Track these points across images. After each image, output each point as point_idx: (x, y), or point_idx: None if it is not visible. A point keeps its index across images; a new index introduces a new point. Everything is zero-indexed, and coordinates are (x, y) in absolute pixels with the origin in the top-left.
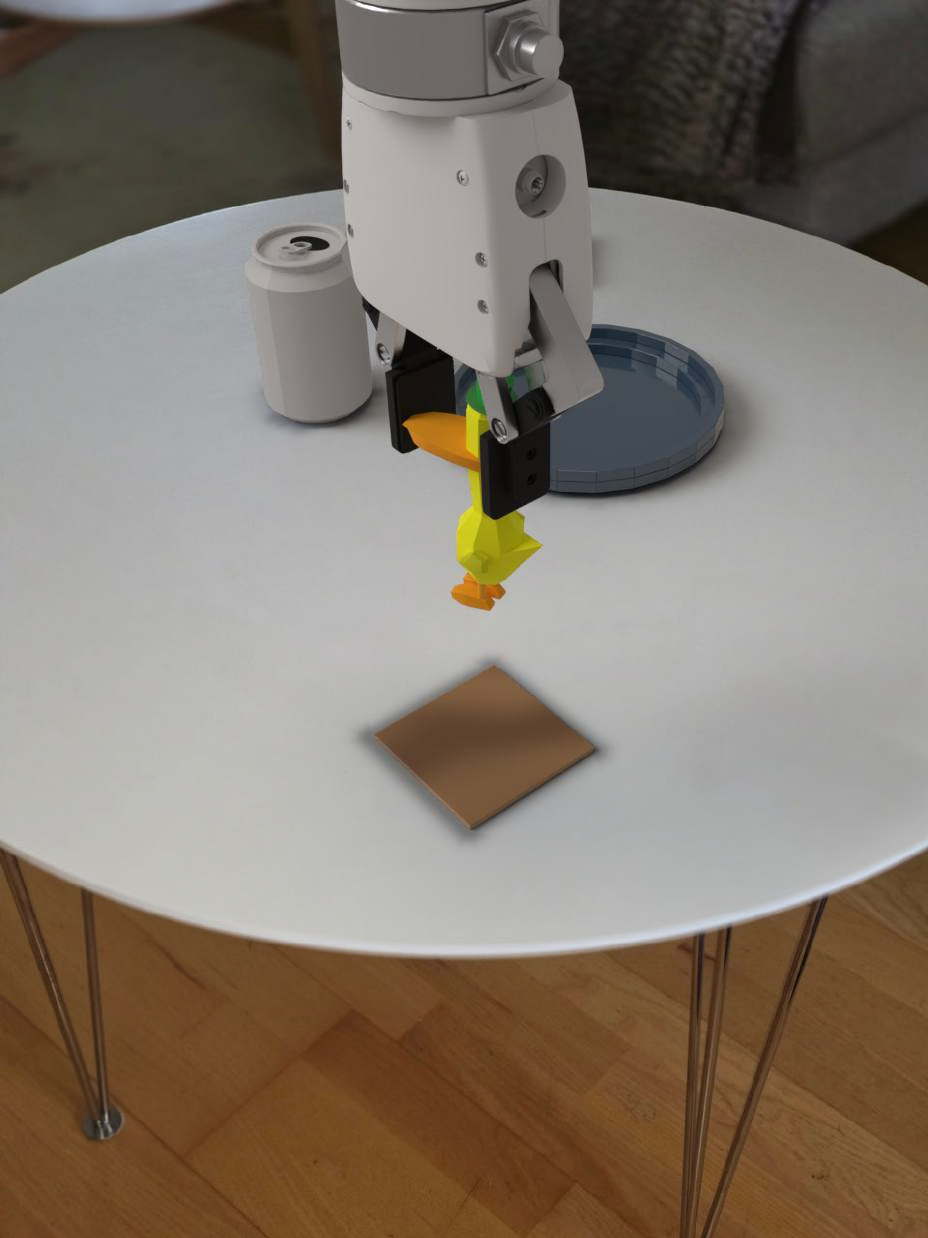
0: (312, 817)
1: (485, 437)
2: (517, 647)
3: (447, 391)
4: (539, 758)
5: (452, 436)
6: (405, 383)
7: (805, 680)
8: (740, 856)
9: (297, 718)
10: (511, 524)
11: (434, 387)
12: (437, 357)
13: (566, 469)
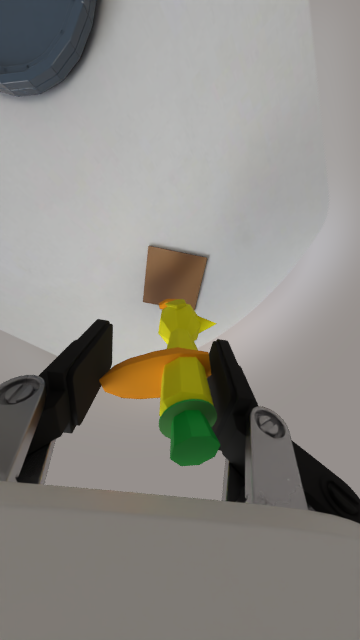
0: (153, 332)
1: (221, 450)
2: (146, 227)
3: (94, 354)
4: (194, 275)
5: (150, 384)
6: (82, 415)
7: (264, 149)
8: (272, 265)
9: (117, 309)
10: (195, 331)
11: (89, 374)
12: (66, 390)
13: (54, 58)
